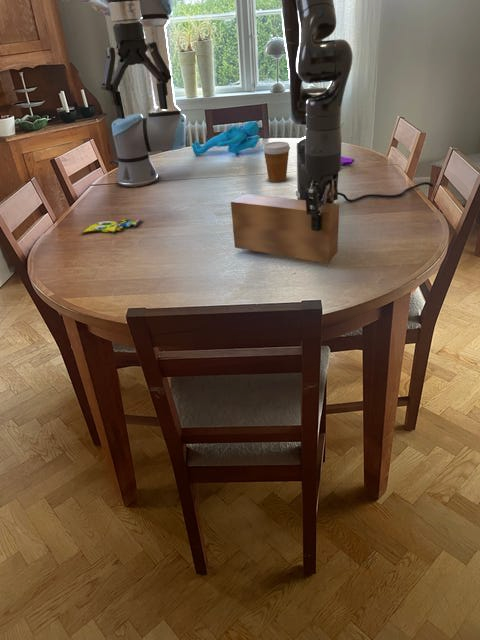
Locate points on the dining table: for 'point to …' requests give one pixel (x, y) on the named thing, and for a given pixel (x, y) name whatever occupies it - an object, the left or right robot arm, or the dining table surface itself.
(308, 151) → the right robot arm
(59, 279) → the dining table surface
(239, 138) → the toy
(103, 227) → the toy
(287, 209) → the box
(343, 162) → the musical instrument
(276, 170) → the disposable coffee cup
